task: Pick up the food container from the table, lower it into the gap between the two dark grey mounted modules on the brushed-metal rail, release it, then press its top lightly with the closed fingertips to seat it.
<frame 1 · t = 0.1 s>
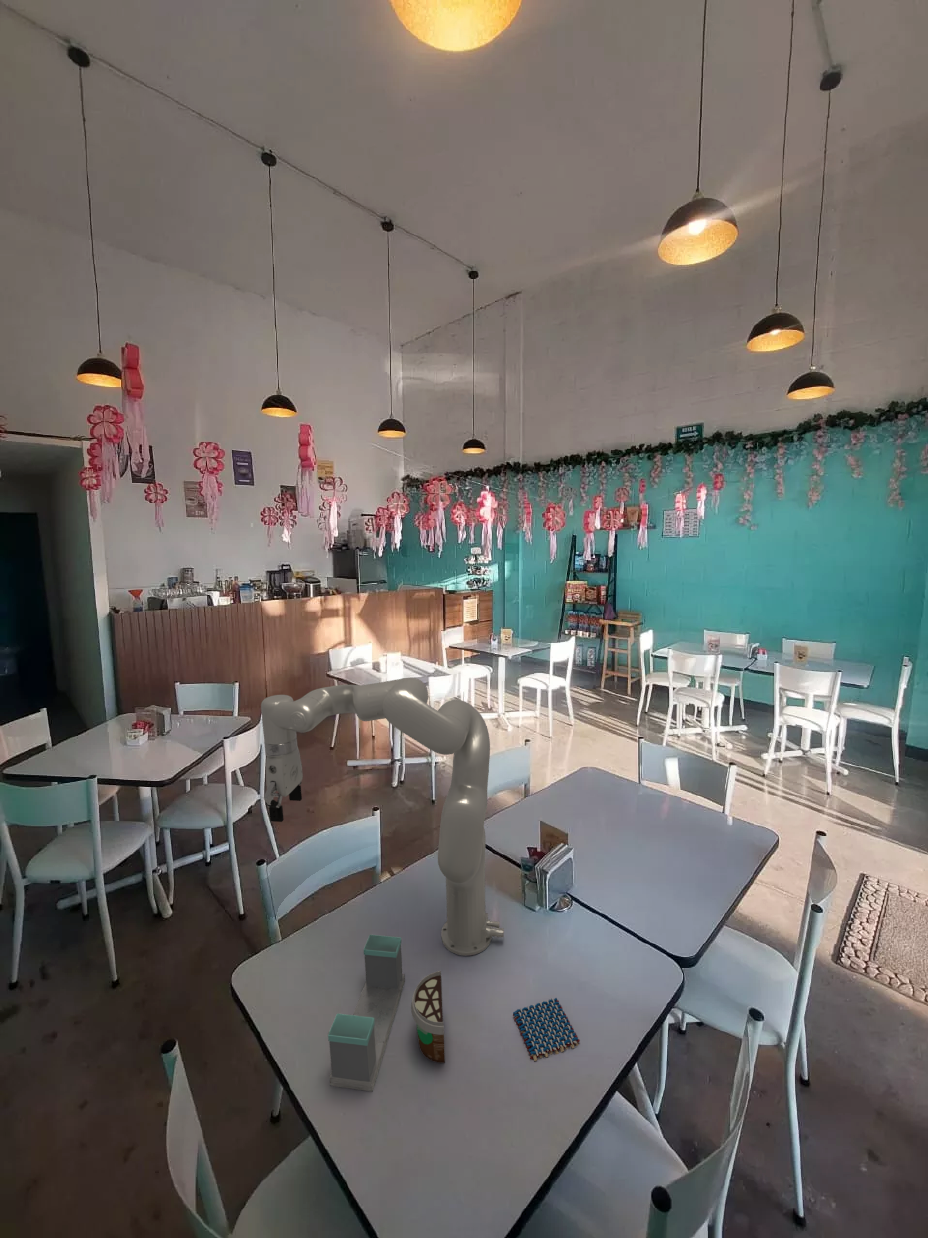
hand: (286, 810, 128), 31 cm above the table, fingers open, 9 cm apart
mounted module B: (355, 1077, 94), resting on rail
rail: (371, 1028, 103), on the table
mounted module A: (385, 987, 113), resting on rail
woven mat: (545, 1032, 102), on the table
food container: (428, 1041, 101), on the table
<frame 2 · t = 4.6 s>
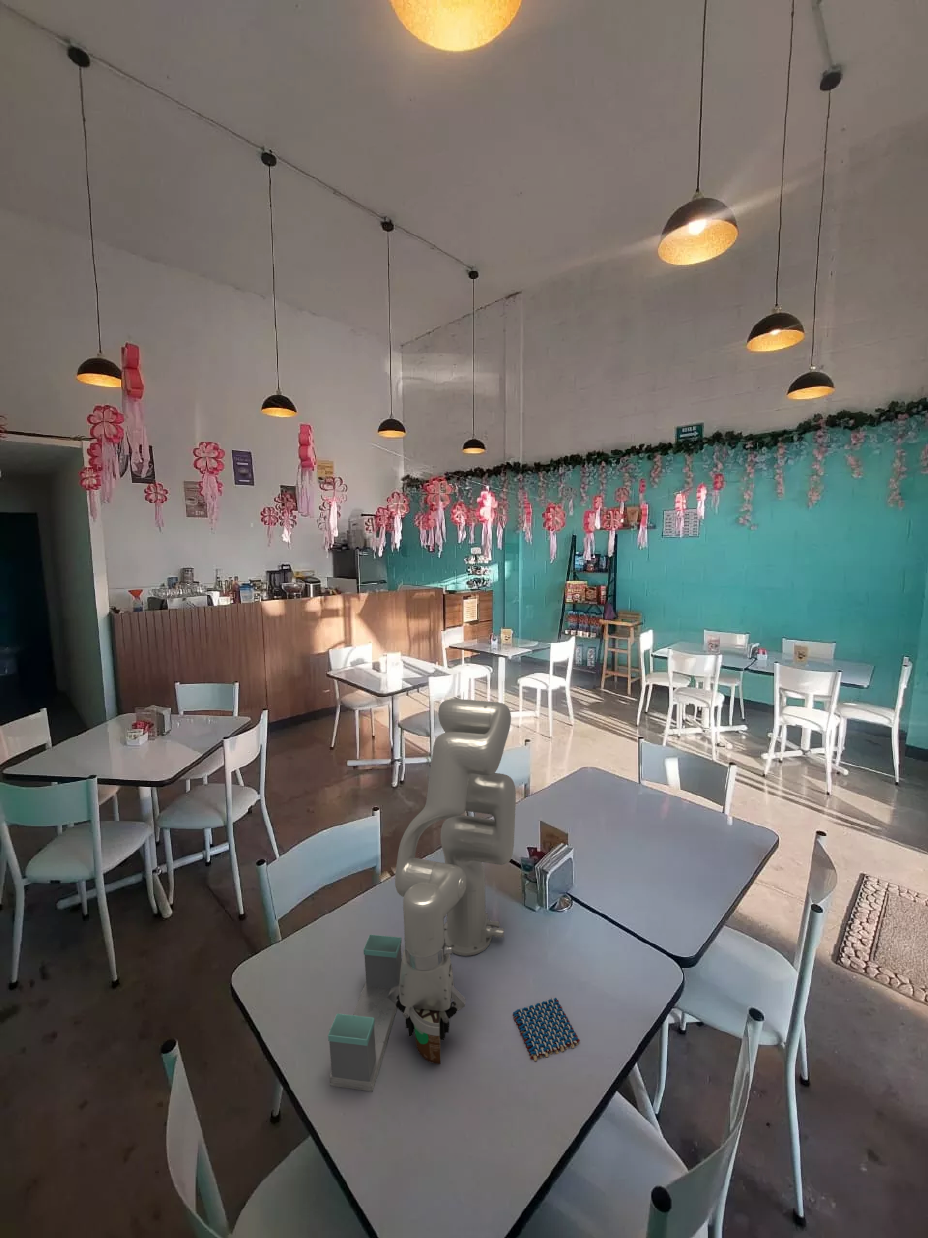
hand: (427, 1031, 100), 3 cm above the table, fingers closed on food container, 5 cm apart
food container: (425, 1041, 101), on the table, touching gripper
everything else where it was.
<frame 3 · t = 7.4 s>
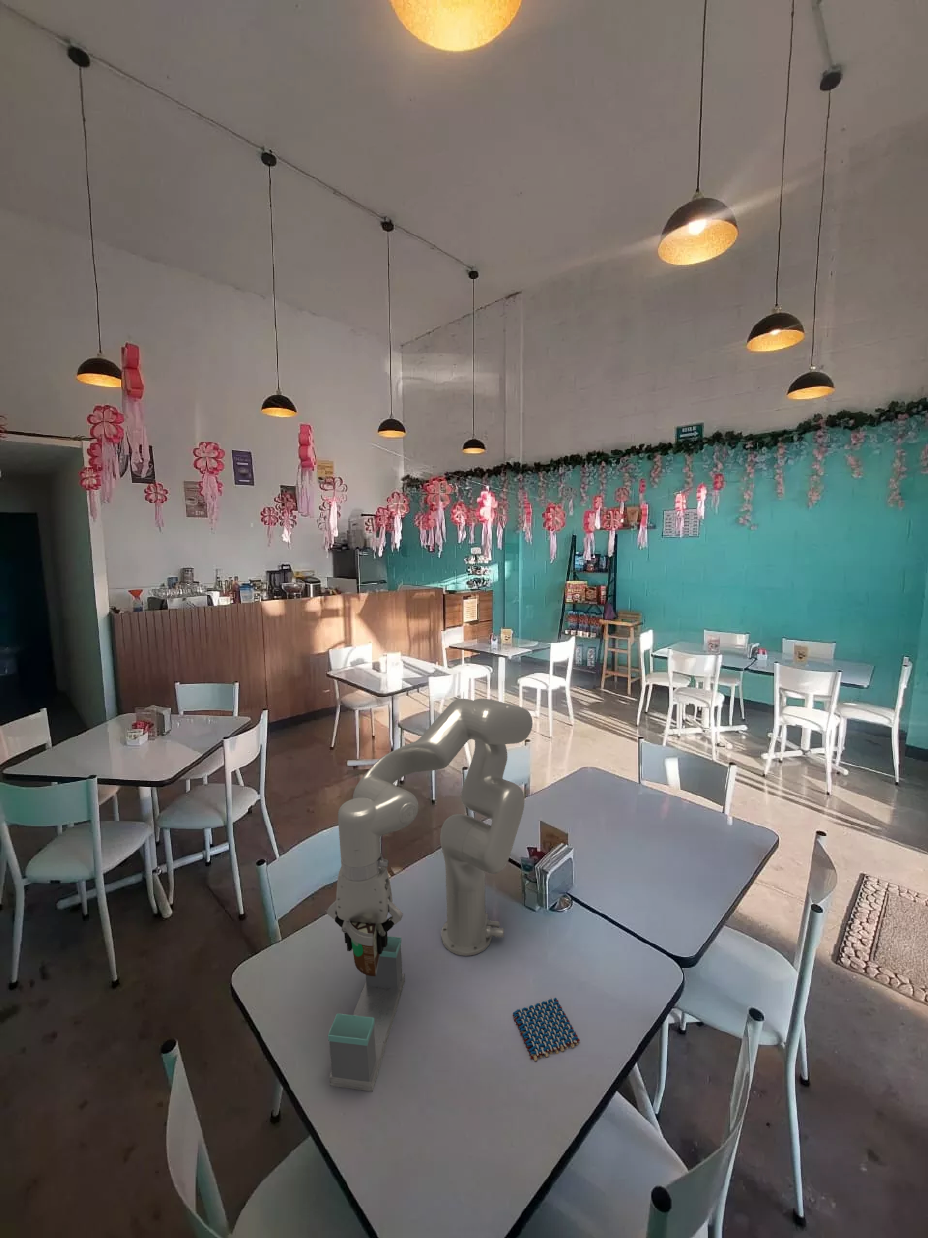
hand: (366, 946, 100), 19 cm above the table, fingers closed on food container, 5 cm apart
food container: (364, 957, 101), point 16 cm above the table, touching gripper
everything else where it was.
when the fingers open (5 cm above the table, at t = 10.2 s): food container moves 1 cm, resting on rail.
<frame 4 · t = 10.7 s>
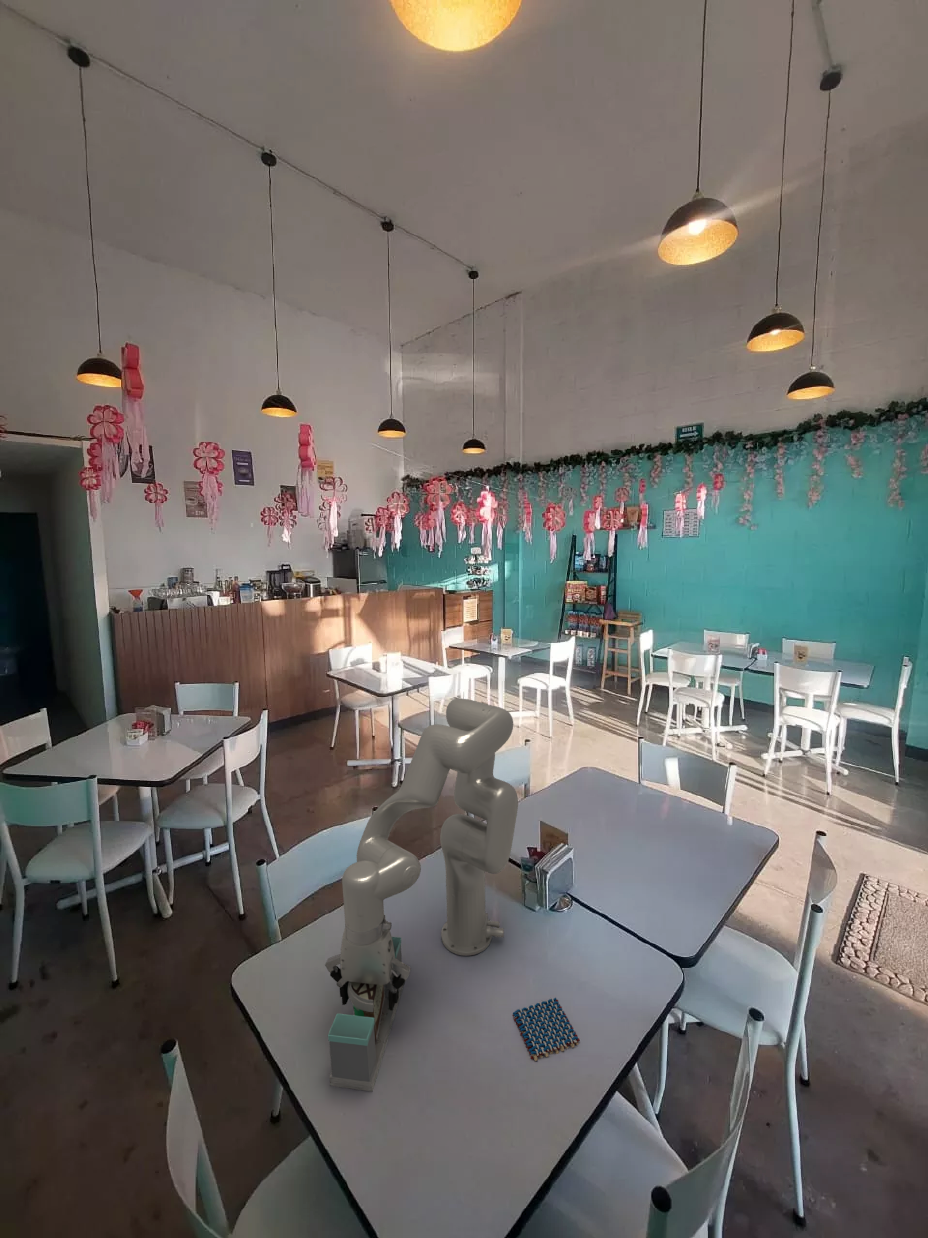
hand: (369, 1001, 102), 6 cm above the table, fingers open, 9 cm apart
food container: (365, 1018, 103), point 2 cm above the table, touching rail
everything else where it was.
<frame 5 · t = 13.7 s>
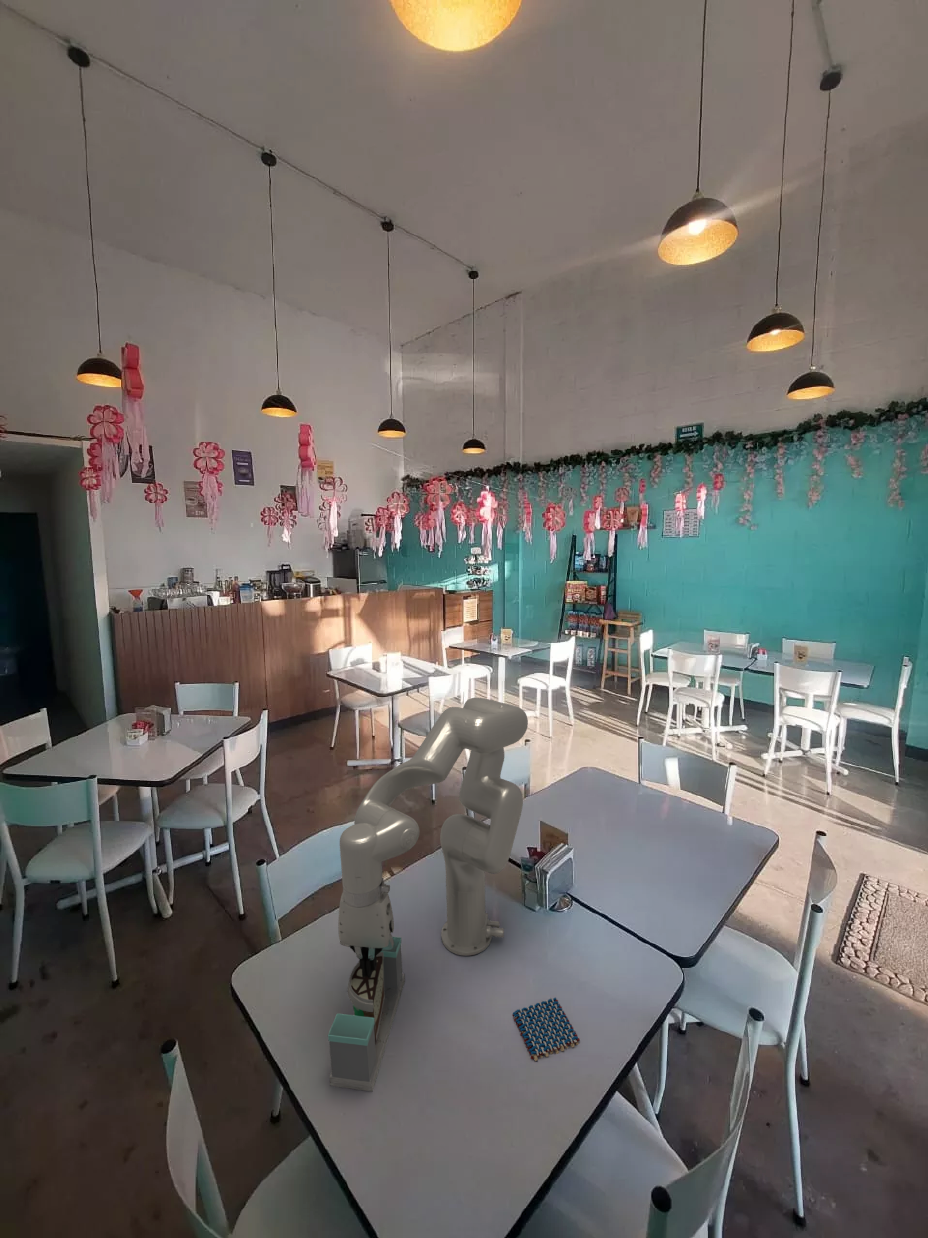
hand: (368, 971, 101), 13 cm above the table, fingers closed
nothing on the table moved.
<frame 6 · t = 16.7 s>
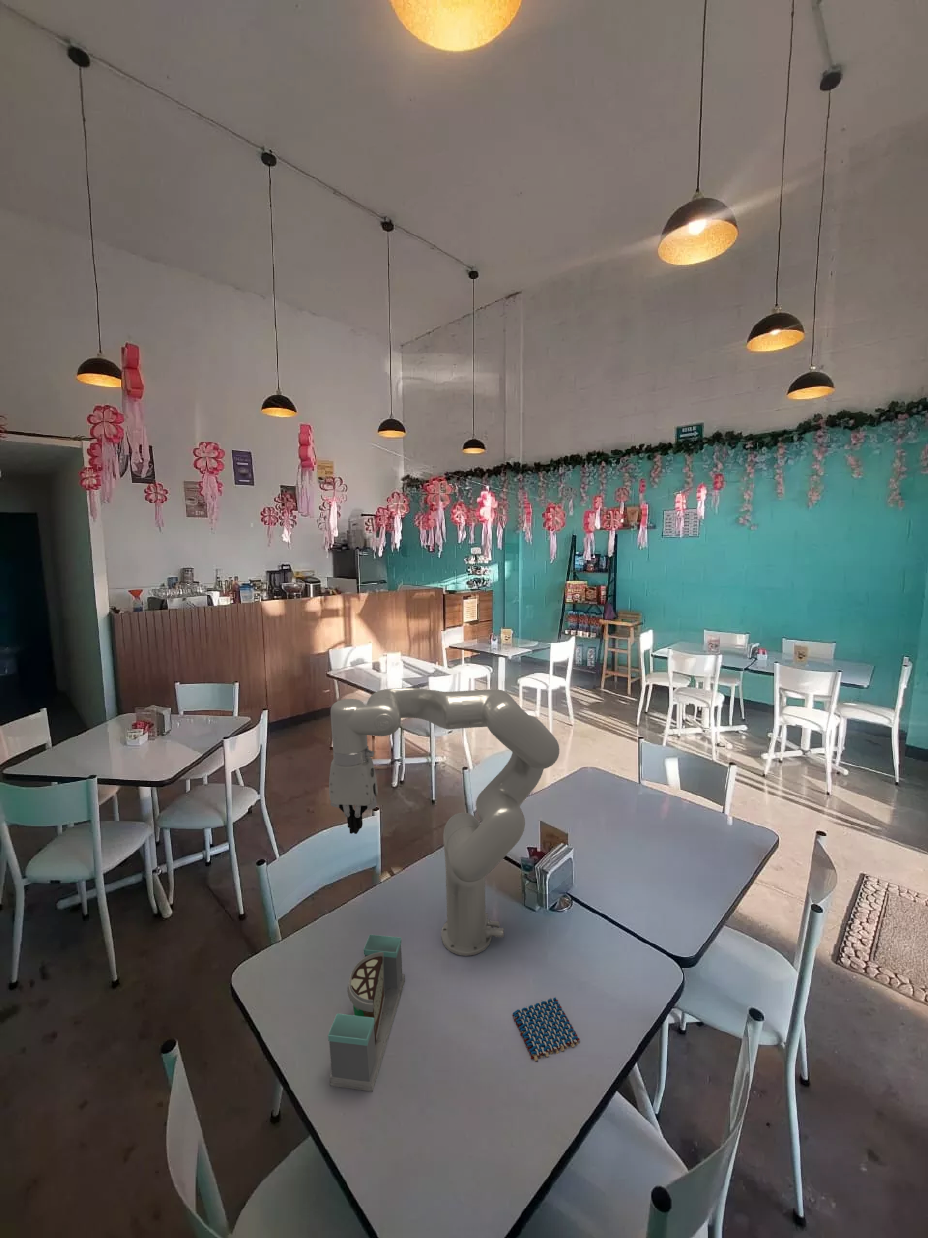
hand: (355, 830, 117), 32 cm above the table, fingers closed
nothing on the table moved.
at the end: food container inside the target area (1.2 cm from its centre), point 1.8 cm above the table; food container tilted 0°; the gripper is holding nothing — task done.
